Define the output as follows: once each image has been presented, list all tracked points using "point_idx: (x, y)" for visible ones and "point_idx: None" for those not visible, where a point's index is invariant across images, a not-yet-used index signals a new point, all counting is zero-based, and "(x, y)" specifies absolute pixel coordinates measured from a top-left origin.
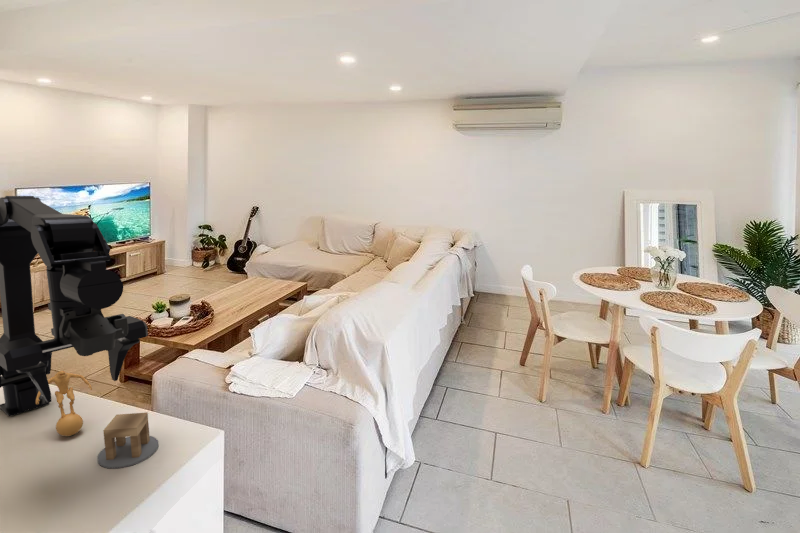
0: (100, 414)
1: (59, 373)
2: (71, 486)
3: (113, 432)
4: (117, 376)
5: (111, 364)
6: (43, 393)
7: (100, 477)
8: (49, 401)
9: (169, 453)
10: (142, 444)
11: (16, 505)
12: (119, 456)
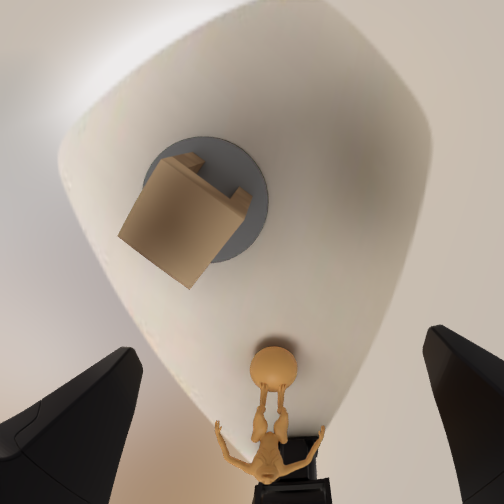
0: (214, 379)
1: (272, 479)
2: (334, 157)
3: (221, 199)
4: (110, 357)
5: (111, 433)
6: (483, 351)
7: (281, 142)
8: (437, 326)
9: (139, 129)
10: None
11: (415, 178)
12: (225, 189)
